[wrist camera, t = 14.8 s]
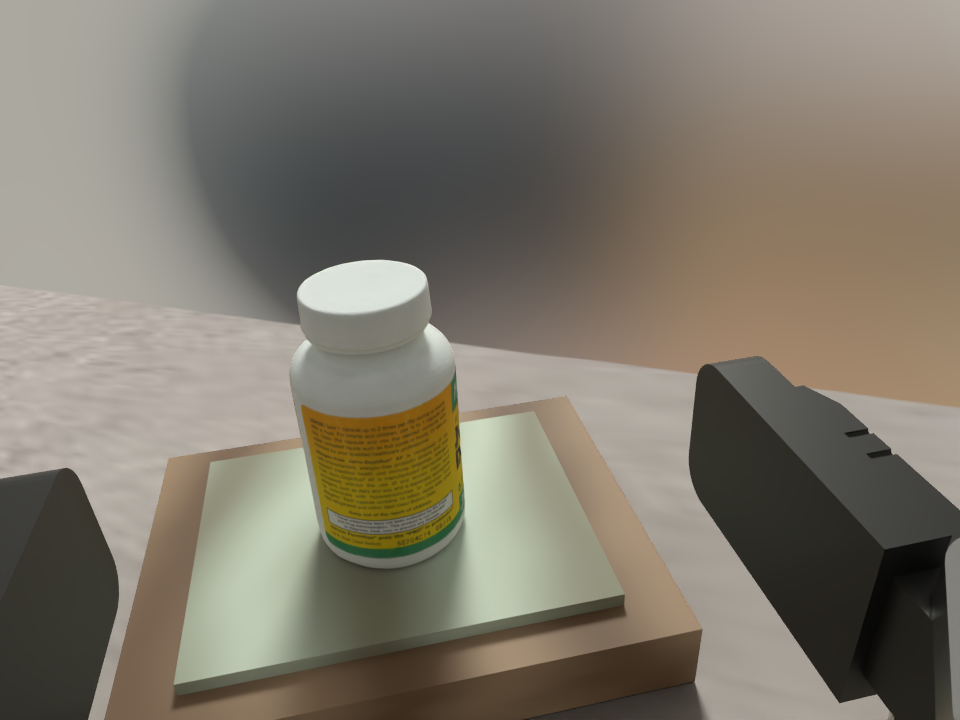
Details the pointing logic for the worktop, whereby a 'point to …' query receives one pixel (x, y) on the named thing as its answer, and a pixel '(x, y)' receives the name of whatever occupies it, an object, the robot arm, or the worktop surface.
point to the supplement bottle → (378, 414)
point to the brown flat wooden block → (403, 592)
